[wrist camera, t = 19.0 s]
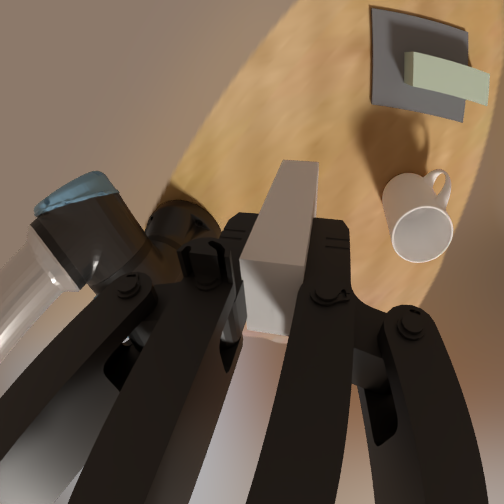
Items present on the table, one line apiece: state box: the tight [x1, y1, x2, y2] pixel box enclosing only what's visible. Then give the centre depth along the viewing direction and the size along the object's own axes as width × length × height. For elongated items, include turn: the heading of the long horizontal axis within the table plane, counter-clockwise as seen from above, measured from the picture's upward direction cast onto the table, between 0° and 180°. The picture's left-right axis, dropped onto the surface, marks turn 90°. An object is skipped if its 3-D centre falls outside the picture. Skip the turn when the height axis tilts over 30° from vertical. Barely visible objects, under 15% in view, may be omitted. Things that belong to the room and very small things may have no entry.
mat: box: [371, 8, 468, 123], centre depth 27 cm, size 14×14×1 cm
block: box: [404, 52, 490, 106], centre depth 25 cm, size 4×4×11 cm
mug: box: [382, 169, 453, 263], centre depth 34 cm, size 9×12×11 cm
